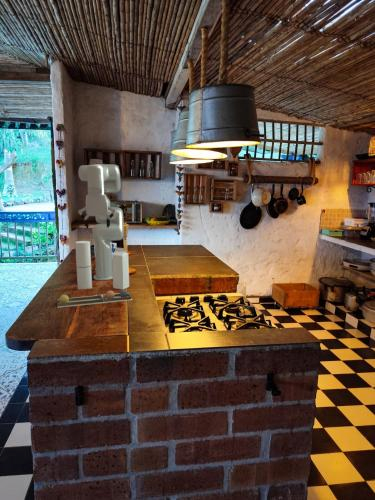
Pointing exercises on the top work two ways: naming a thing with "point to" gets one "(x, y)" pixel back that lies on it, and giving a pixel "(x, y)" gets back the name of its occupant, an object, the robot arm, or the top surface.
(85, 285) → the cylindrical container
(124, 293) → the charcoal ball
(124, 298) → the wooden rectangular frame
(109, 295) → the terracotta ball
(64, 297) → the ochre ball
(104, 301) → the board
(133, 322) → the top surface
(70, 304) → the wooden picture frame
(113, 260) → the milk
